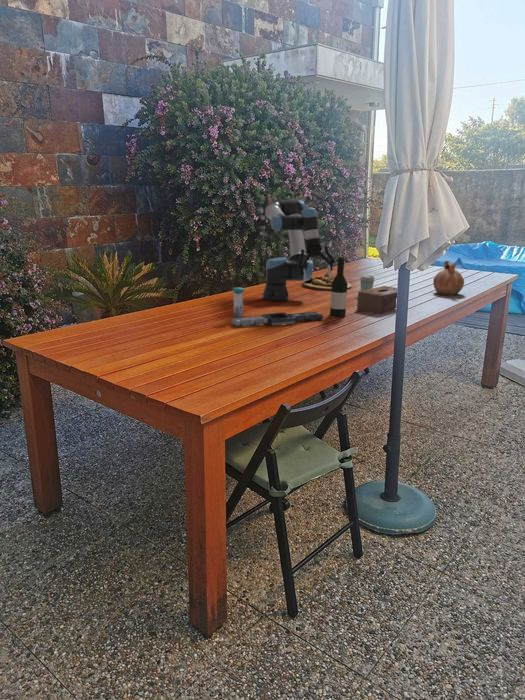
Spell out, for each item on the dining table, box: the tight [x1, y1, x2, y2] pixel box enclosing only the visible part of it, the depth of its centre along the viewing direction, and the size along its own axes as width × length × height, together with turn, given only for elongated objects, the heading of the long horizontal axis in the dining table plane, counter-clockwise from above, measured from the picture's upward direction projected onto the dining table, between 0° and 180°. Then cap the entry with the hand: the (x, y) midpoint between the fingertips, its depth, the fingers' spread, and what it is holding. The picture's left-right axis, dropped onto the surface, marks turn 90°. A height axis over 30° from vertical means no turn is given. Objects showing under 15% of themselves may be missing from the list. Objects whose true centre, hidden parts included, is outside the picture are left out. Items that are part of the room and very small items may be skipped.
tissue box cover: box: [356, 285, 398, 315], centre depth 304 cm, size 26×14×10 cm, turn 136°
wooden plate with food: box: [302, 271, 353, 292], centre depth 364 cm, size 32×32×8 cm
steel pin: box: [232, 286, 245, 318], centre depth 273 cm, size 5×5×15 cm
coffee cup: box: [359, 274, 375, 291], centre depth 334 cm, size 8×8×12 cm
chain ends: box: [230, 311, 324, 328], centre depth 270 cm, size 12×46×3 cm, turn 114°
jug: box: [432, 260, 465, 297], centre depth 346 cm, size 18×18×20 cm
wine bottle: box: [329, 255, 348, 318], centre depth 283 cm, size 8×8×30 cm
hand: (318, 279), depth 295 cm, fingers open, 13 cm apart
